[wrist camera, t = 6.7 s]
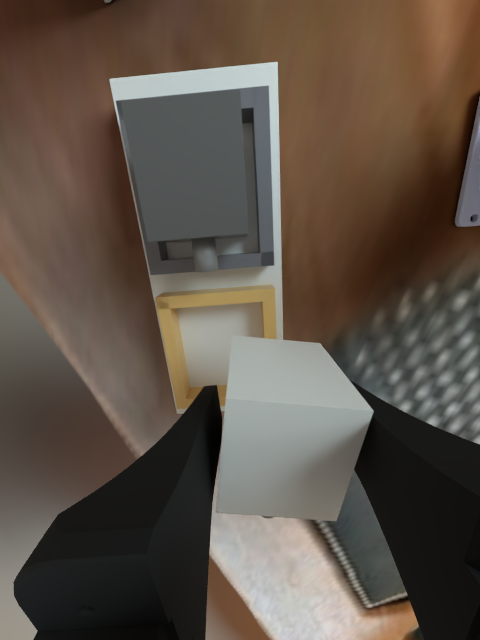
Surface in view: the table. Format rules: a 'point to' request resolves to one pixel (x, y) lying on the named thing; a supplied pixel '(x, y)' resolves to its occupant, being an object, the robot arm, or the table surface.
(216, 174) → the twin plug
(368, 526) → the table surface
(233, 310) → the white base platform
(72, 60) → the table surface
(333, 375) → the plug
